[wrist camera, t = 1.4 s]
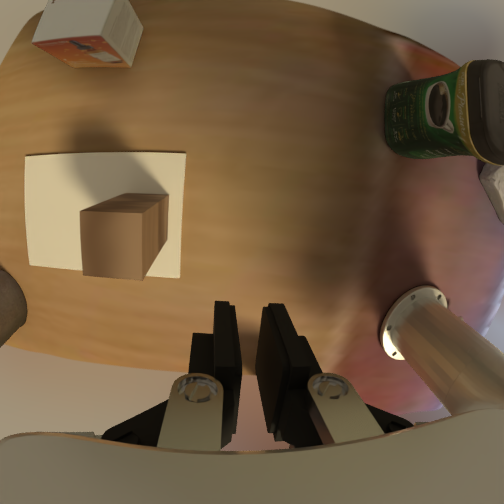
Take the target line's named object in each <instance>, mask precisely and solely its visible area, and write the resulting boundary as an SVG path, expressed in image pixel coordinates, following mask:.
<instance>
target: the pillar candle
mask: <svg viewBox="0 0 504 504" xmlns="http://www.w3.org/2000/svg"><path fill="white" fill-rule="evenodd" d="M26 317H27V304H26V300H25V297H24V295H23V292H22V290H21V288H20V286H19V285H18V283H17V282H16V281H15V279H14V278H13V277H12V276H10V275H9V274H8V273H6V272H5V271H2V270H0V347H1V346H2V345H3V344H4V343H5V342H6V341H7V340H8V339H9V338H10V337H11V336H12V335H13V334H14V333H15V332H16V331H17V329H18V328H19V327H21V326H23V325H24V323H25V322H26Z"/></svg>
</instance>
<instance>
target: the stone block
mask: <svg viewBox="0 0 504 504" xmlns="http://www.w3.org/2000/svg"><path fill="white" fill-rule="evenodd" d="M479 179H480V182H481V184H482V185H483V187H484V189H485V191H486V193H487V195H488V197H489V199H490V201H491V203H492V205H493V207H494V208H495V211H496V213H497V215H498V218H499V219H500V221H501V222H502V223H503V224H504V165H503V166H499V165H493V164H489V163H486V164H485V165H484V167H483V170H482V172H481V173H480V175H479Z"/></svg>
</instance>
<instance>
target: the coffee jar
mask: <svg viewBox="0 0 504 504" xmlns="http://www.w3.org/2000/svg"><path fill="white" fill-rule="evenodd" d="M384 122H385V136H386V140H387V143H388V145H389V146H390V148H391V149H392V150H393V151H394V152H395V153H397V154H399V155H401V156H404V157H408V158H413V159H430V158H438V157H446V156H457V155H468V156H474V157H476V158H477V159H479V160H481V161H483V162H486V163H489V164H493V165H499V166H503V165H504V62H502V61H498V60H488V59H487V60H473V61H469V62H467V63H465V64H464V65H463V66H462V67H460V68H459V69H458V70H456V71H454V72H451V73H448V74H445V75H441V76H436V77H431V78H426V79H420V80H413V81H407V82H402V83H399V84H396V85H393V86H391V87H390V89H389V90H388V92H387V94H386V100H385V112H384Z"/></svg>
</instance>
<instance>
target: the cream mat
mask: <svg viewBox="0 0 504 504" xmlns="http://www.w3.org/2000/svg"><path fill="white" fill-rule="evenodd" d="M185 165H186V154H184V153H155V152H97V153H70V154H52V155H38V156H27V157H25V220H26V235H27V246H28V255H29V263H30V265H34V266H43V267H53V268H62V269H72V270H83V269H82V257H81V241H80V211H81V210H83V209H86V208H88V207H91V206H93V205H96V204H98V203H101V202H103V201H106V200H108V199H111V198H113V197H116V196H119V195H121V194H124V193H144V194H167V195H169V210H168V238H167V241H166V243H165V244H164V246H163V248H162V249H161V251H160V252H159V254H158V256H157V257H156V259H155V261H154V262H153V264H152V266H151V267H150V269H149V271H148V272H147V274H146V276H154V277H168V278H180V259H181V230H182V210H183V193H184V178H185Z"/></svg>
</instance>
